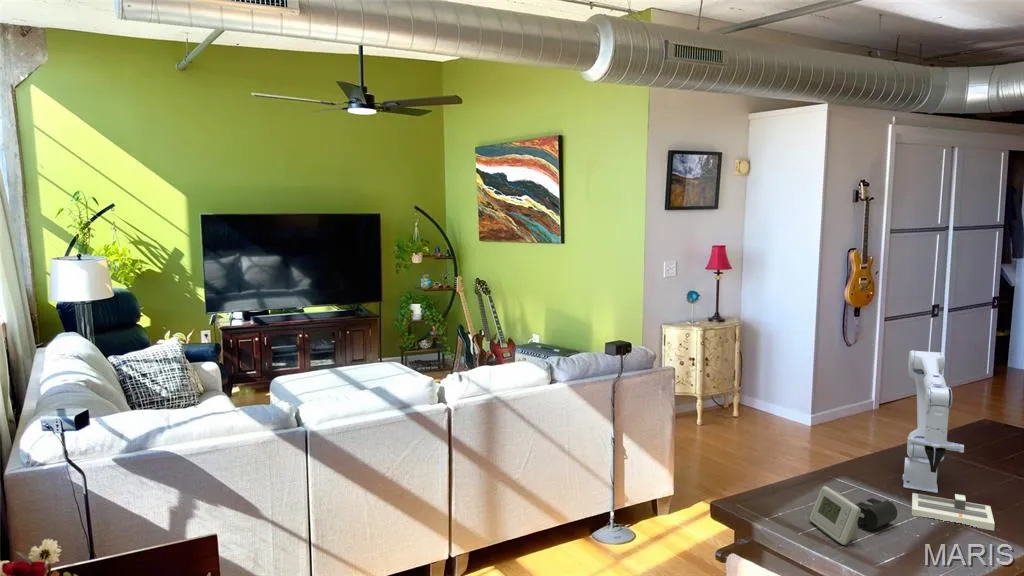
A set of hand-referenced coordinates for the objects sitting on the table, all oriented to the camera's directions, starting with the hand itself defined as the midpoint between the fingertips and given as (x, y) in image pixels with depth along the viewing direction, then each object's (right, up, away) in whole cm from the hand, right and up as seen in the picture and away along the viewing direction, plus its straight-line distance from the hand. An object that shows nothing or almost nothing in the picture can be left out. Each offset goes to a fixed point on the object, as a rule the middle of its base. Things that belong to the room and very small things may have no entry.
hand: (933, 471), depth 216 cm
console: (+2, -11, -6) cm, 12 cm away
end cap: (-24, -12, -14) cm, 30 cm away
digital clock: (-38, -13, -18) cm, 44 cm away
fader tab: (+4, -9, -7) cm, 12 cm away
